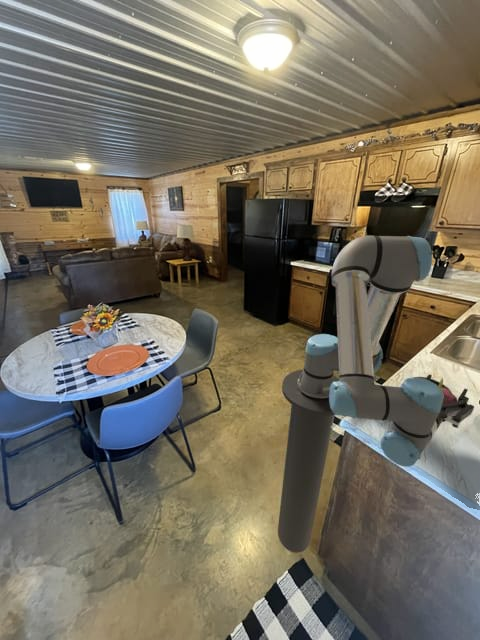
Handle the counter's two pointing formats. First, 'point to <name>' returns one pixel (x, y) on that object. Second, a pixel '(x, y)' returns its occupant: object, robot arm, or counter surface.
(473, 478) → the counter surface
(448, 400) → the cupcake
